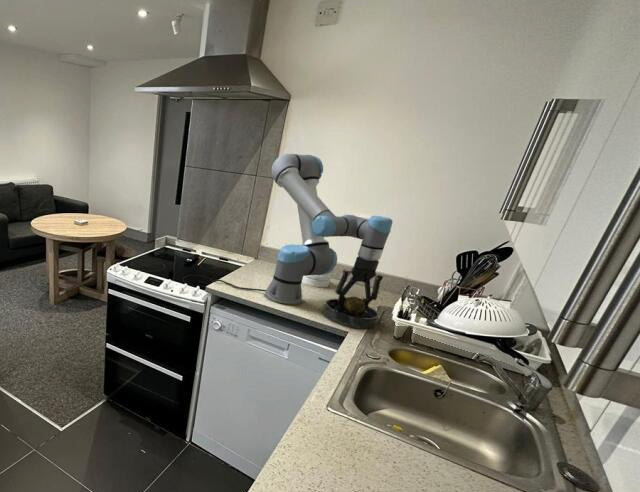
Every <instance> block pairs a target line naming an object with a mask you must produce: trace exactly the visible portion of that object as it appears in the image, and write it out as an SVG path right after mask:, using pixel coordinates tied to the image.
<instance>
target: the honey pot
mask: <svg viewBox="0 0 640 492" xmlns="http://www.w3.org/2000/svg"><path fill="white" fill-rule="evenodd" d="M331 277H332V271H331V272H330V273H328V274H323V275H309V276H303V279H302V282H301V283H303V284H305V285H306V286H311V287H315V288H328V287H329V285H330V281H331Z"/></svg>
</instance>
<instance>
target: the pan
mask: <svg viewBox="0 0 640 492" xmlns="http://www.w3.org/2000/svg"><path fill="white" fill-rule="evenodd" d="M337 301H338V298H329V299H327V300H325V302H324V305H323V308H322V314H323V315H324V316H325V317H326V318H327V319H329V320H331V321H333V322H334V323H337V324H340V325H342V326H346V327H350V328H355V329H371V328H374V327H375V326H376V325H377V322H378V319H379V317H380V313H378V311H377V310H375V309H374V308H372V306H370V305H368V307H367V308H365V309H364V312H363V315H362V316H360V315H359V314H351V313H349V312H347V311H346V310H345V308H344V307H342V310H341V312H338V310H337V309H338V305H339V304H338V302H337Z"/></svg>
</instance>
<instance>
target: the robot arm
mask: <svg viewBox="0 0 640 492" xmlns="http://www.w3.org/2000/svg"><path fill="white" fill-rule="evenodd" d="M323 173H324V164H323V162H322V160H321V158H320V157H318V156H316V155H312V154H297V153H285V154H282V155H280V156H278V157H277V158H276V159H275V161H273V164H272V166H271V178H272V180H273V182H275V183H276V185H277V186H278V187H279V188H283V189H284V191H286V193H287V194H288V195H289V196H290V198H291V199H292V200H293V201H294V202H295V204H296V206H297V213H298V220H299V226H300V233H301V239H302V244H287V245H283V246H282V247H281V248H280V250H279V253H278V255H277V260H276V265H275V268H274V273H273V277H272V280H271V281H270V283H269V285H268V286H267V288H266V289H261V288H252V287H241V286H237V285H235V284H233V283H230V282H227V281H226V280H222V279H214V280H212V283H216V282H220V283H224V284H226V285H228V286H231V287H233V288H235V289H239V290H246V291H247V290H249V291H256V292H257V291H258V292H264V296H265V297H266V299H268V300H269V301H272V302H274V303H277V304H282V305H289V306H294V305H295V306H297V305H300V304H301V303H302V299H303V293H302V283H303V282H302V279H303V276H309V275H323V274H328V273H330V272H331V273H332V272H333V270H334V268H336V266H337V263H338V254H337V252H336V251H335V250H334V249H333V248H331V247H330V243H329V241H328V240H326V239H325V238H331V237H332V238H334V237H353V238H356V239H360V240H361V243H360V246H359V249H358V252H357V256H356V258H355V260H354V261H355V262H354V265H353V267H352V268H351V269H345V268H344V269H343V270H342V275H341V277H340V280H339V282H338V285H337V286H336V288H335V290H334V292H335V293H336V295H338V298H337V299H338V301H337V302H338V304H339V305H338V309H337V310H338V312H341V310H342V307H343V305H344V301H345V299H346V295H347V293H348V292H349V291H350V289H351V288H353V286H354V285H355V284H356V283H357V282H362V283H364V292H365V297H362V300H363V301H364V303H365V308H367V307H368V306H370V302H372V301H377V298H378V295H379V289H380V285H381V282H382V280H383V279H384V276H383V275H381V274H380V273H376V271H377V269H378V266H379V263H380V261H379V260H381V258H382V255H383V252H384V248H385V246H386V243H387V240H388V238H389V235H390V233H391V232H392V231H391V230H392V226H393V219H391V218H389V217H388V216H381V215H371V216H370V217H369V219H367V218H363V217H360V216H356V215H355V214H343V215H342V216H340V215H339V216H337V215H336V214H334V213H333V211H331V209H330V208H329V207H328V206H327V205H326V203H324V202H323V200H322V199H321V198H320V197H319V196H318V189H317V186H318V184H320V179H321V178H322V176H323ZM350 275H352V276H351V278H350V280H349V281H348V282H347V280H348V277H349V276H350ZM372 279H374V280H373V285H372V290H371V280H372ZM346 282H347V283H346ZM345 283H346V285H345ZM363 312H364V311H363ZM363 312H361V313H359V315H360V316H362V315H363Z"/></svg>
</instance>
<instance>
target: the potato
mask: <svg viewBox="0 0 640 492" xmlns="http://www.w3.org/2000/svg"><path fill="white" fill-rule="evenodd" d="M345 297H346V296H345ZM343 307H344V308H345V310H346V311H347V312H349V313H351V314H359V313H361V312H363V311H364V309H365V303H364V301H363V298H360V297H358V296H353V295H352V296H347V297H346V299H345V301H344V305H343Z"/></svg>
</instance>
